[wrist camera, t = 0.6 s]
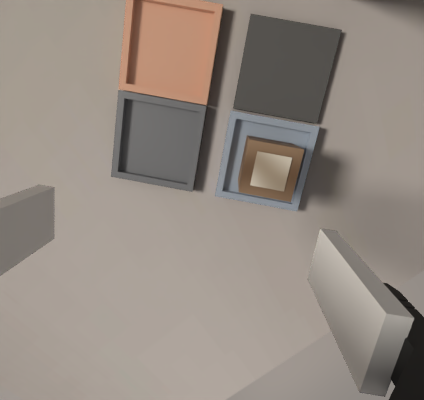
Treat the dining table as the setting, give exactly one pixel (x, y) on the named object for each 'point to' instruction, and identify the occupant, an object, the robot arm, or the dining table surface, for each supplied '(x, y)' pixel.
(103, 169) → the dining table surface
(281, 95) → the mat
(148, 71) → the tray terracotta
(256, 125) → the tray slate
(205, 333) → the dining table surface
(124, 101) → the tray charcoal
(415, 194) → the dining table surface
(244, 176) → the letter block
